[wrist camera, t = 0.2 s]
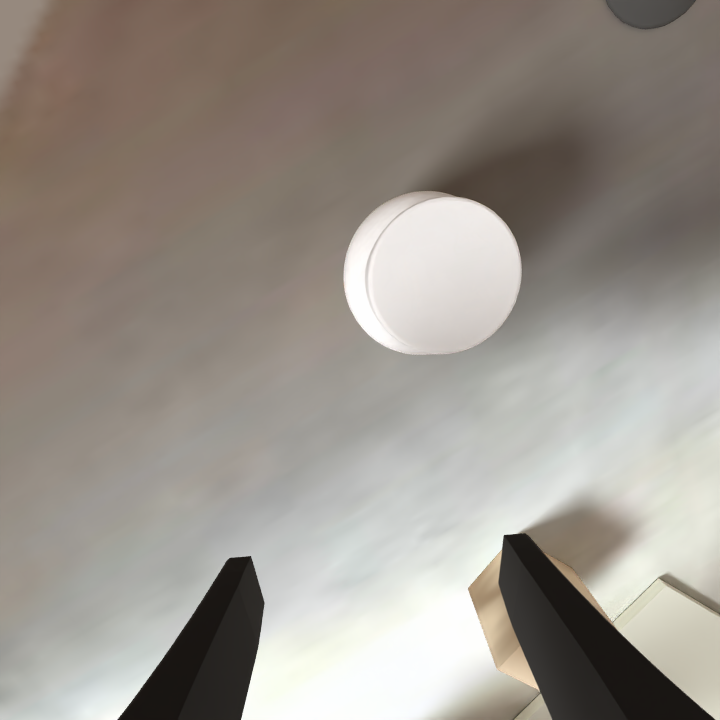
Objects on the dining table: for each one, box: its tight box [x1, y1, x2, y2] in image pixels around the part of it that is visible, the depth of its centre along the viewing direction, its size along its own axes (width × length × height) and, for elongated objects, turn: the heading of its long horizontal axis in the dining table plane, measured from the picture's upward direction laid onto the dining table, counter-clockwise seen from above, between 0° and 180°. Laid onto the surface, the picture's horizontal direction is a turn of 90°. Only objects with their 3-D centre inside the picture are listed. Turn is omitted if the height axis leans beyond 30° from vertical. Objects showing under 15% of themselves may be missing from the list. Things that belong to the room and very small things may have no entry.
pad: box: [514, 578, 720, 720], centre depth 26 cm, size 16×16×1 cm
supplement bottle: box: [344, 191, 522, 355], centre depth 13 cm, size 5×5×10 cm
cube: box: [468, 550, 617, 691], centre depth 21 cm, size 5×5×5 cm
